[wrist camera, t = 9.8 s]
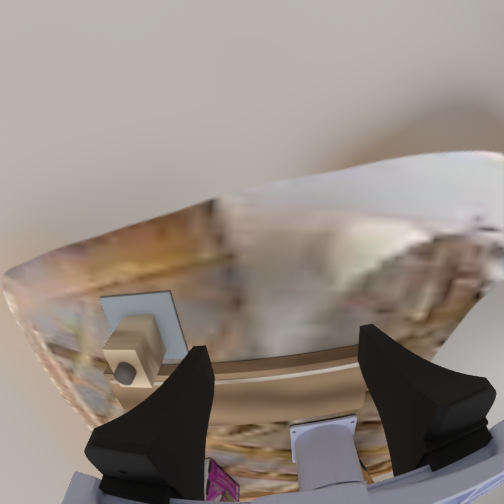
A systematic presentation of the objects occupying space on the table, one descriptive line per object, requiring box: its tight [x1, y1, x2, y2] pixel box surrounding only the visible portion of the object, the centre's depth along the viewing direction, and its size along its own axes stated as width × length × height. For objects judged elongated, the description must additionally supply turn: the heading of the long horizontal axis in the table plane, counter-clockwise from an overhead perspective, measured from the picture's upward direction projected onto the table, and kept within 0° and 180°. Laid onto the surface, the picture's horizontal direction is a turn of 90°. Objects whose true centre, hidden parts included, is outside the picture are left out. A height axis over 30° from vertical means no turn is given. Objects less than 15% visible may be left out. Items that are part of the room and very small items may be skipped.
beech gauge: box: [102, 315, 166, 388], centre depth 22 cm, size 4×3×6 cm
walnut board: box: [104, 345, 367, 426], centre depth 26 cm, size 8×26×2 cm, turn 98°
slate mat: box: [99, 291, 189, 359], centre depth 25 cm, size 7×7×1 cm
